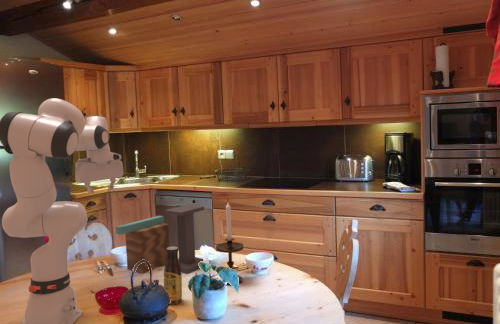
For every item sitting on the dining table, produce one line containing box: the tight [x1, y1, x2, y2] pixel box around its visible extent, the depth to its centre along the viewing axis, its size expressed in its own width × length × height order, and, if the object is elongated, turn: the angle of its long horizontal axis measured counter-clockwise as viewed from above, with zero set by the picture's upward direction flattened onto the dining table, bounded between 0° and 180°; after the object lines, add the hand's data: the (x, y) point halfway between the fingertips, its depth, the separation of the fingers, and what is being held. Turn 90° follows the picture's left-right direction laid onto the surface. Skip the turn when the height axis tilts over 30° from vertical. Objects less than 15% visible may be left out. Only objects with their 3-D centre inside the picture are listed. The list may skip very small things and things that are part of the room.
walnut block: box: [125, 222, 170, 274], centre depth 203 cm, size 16×10×18 cm, turn 142°
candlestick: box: [215, 195, 245, 287], centre depth 180 cm, size 11×11×35 cm
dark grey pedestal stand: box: [164, 204, 205, 275], centre depth 201 cm, size 14×14×26 cm
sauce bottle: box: [163, 245, 183, 305], centre depth 163 cm, size 6×6×20 cm
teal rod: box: [115, 215, 165, 236], centre depth 200 cm, size 24×3×3 cm, turn 143°
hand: (101, 191), depth 183 cm, fingers open, 8 cm apart
